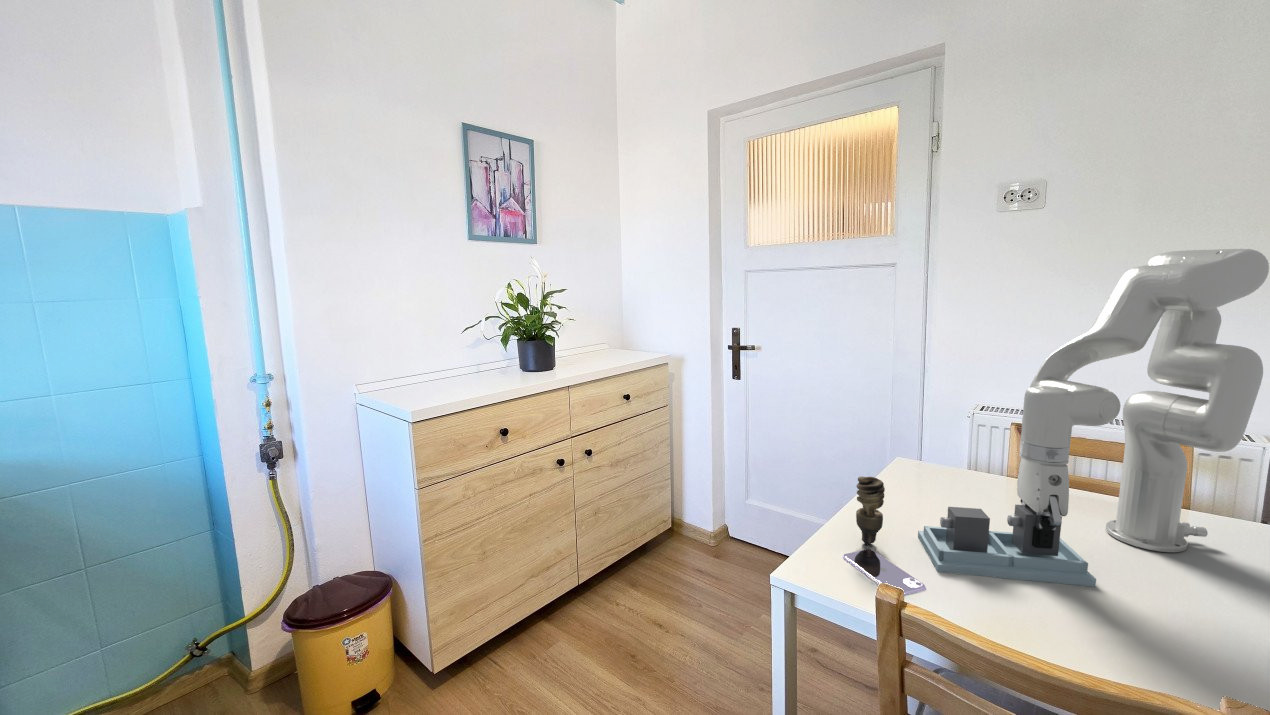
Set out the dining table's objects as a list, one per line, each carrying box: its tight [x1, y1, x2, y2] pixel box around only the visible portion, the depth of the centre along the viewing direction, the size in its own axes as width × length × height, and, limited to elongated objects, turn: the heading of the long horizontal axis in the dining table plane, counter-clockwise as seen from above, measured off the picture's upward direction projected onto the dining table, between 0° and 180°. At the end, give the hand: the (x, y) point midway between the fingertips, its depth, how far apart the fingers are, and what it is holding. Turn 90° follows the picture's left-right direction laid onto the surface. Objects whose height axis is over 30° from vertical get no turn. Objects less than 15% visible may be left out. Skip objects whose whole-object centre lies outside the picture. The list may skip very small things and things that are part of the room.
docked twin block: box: [939, 506, 991, 553], centre depth 108 cm, size 8×4×8 cm, turn 77°
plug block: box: [1006, 504, 1063, 556], centre depth 106 cm, size 8×4×8 cm, turn 77°
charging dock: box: [917, 525, 1097, 588], centre depth 107 cm, size 26×14×4 cm, turn 77°
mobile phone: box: [842, 548, 927, 596], centre depth 105 cm, size 8×1×15 cm
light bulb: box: [855, 476, 886, 546], centre depth 114 cm, size 6×6×15 cm
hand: (1035, 539), depth 106 cm, fingers closed on plug block, 4 cm apart
